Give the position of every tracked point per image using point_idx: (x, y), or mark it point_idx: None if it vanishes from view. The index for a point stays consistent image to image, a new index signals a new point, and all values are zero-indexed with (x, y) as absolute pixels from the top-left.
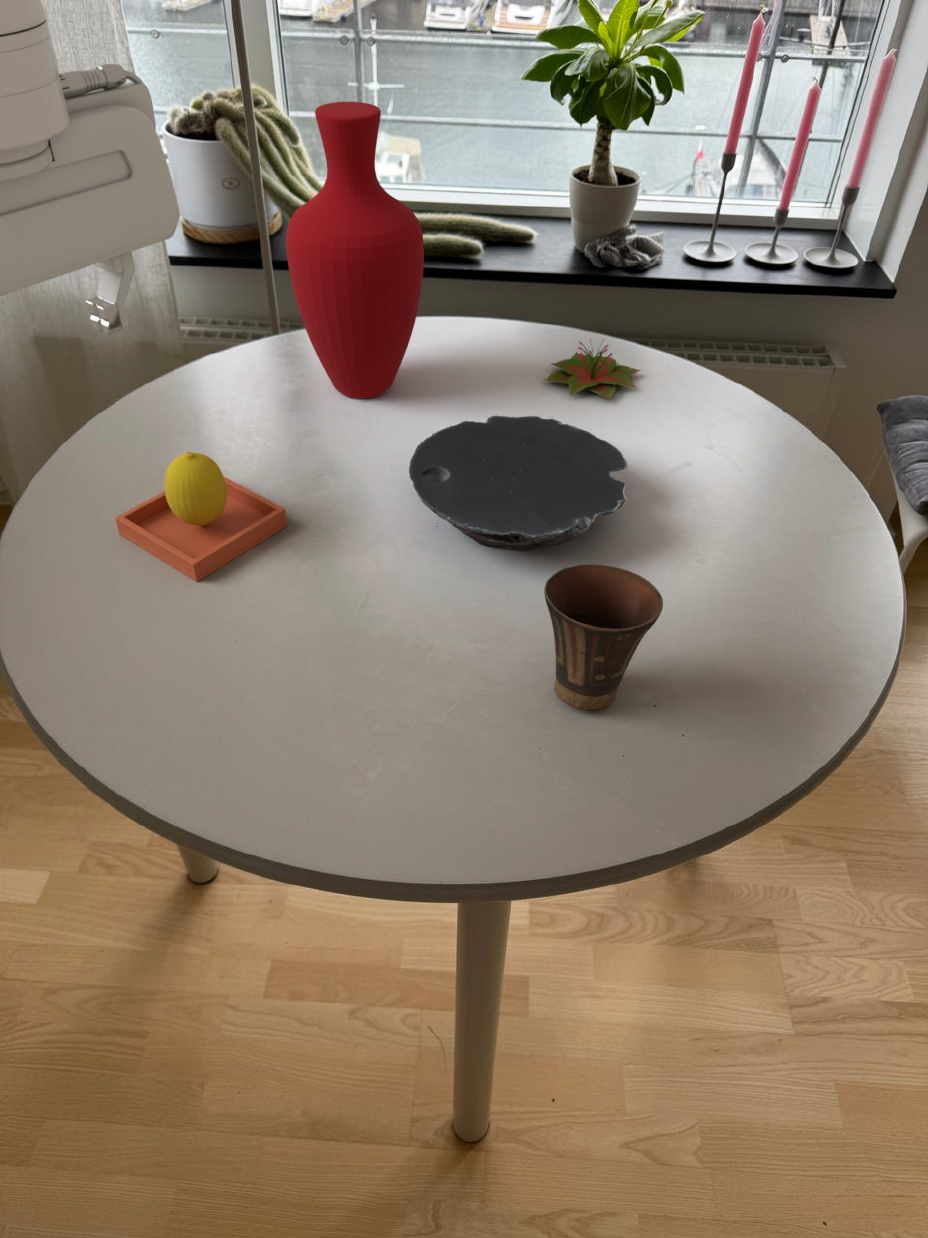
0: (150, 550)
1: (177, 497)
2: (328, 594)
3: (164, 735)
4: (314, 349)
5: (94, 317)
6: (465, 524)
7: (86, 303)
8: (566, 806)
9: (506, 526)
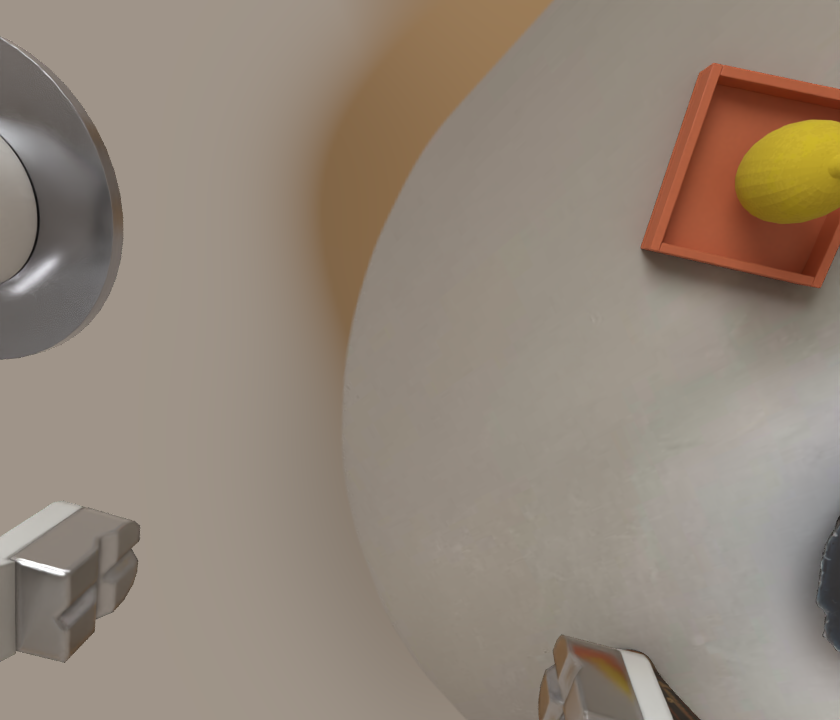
0: (674, 150)
1: (754, 175)
2: (677, 403)
3: (414, 368)
4: None
5: (570, 677)
6: (826, 558)
7: (582, 703)
8: (496, 681)
9: (837, 601)
